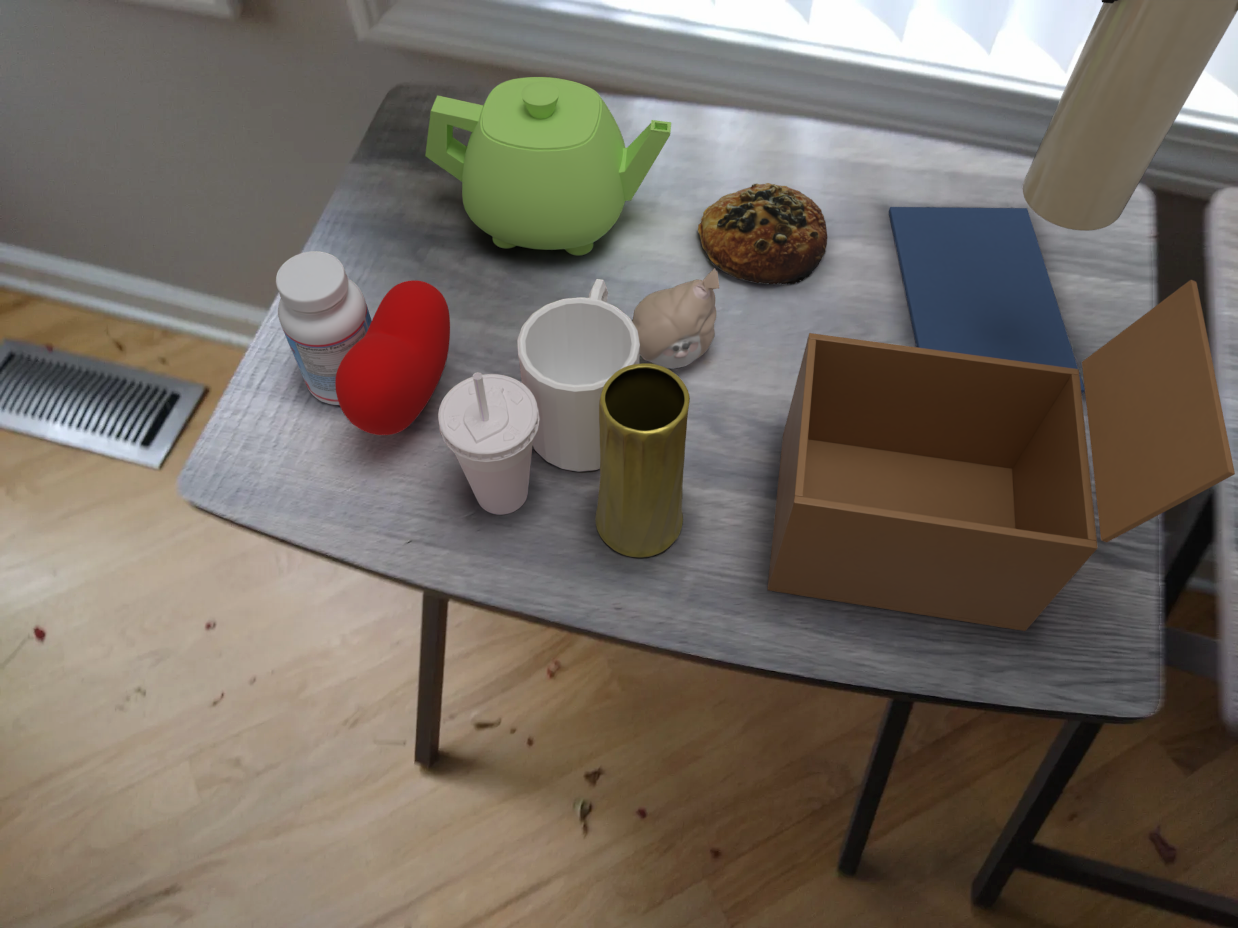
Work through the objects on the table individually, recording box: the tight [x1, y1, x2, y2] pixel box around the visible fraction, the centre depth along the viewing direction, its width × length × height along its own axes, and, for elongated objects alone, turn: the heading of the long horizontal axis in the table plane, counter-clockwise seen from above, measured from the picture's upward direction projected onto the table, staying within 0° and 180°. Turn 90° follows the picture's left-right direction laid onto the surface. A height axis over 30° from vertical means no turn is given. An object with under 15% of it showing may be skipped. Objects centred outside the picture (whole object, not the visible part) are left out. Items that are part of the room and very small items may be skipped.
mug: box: [516, 278, 641, 473], centre depth 70 cm, size 8×12×10 cm
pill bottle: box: [275, 250, 372, 406], centre depth 71 cm, size 6×6×11 cm
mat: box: [888, 206, 1085, 395], centre depth 80 cm, size 20×12×1 cm, turn 0°
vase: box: [594, 362, 691, 558], centre depth 63 cm, size 6×6×14 cm
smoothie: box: [437, 371, 540, 516], centre depth 64 cm, size 6×6×14 cm
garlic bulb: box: [631, 268, 720, 369], centre depth 74 cm, size 7×6×8 cm
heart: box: [335, 279, 451, 436], centre depth 70 cm, size 12×5×10 cm, turn 160°
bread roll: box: [697, 182, 828, 286], centre depth 83 cm, size 11×11×5 cm
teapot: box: [424, 76, 672, 256], centre depth 80 cm, size 20×13×13 cm
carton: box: [767, 332, 1099, 632], centre depth 64 cm, size 17×13×12 cm
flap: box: [1081, 279, 1236, 543], centre depth 54 cm, size 8×13×1 cm
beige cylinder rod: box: [1021, 0, 1238, 232], centre depth 56 cm, size 6×6×19 cm
